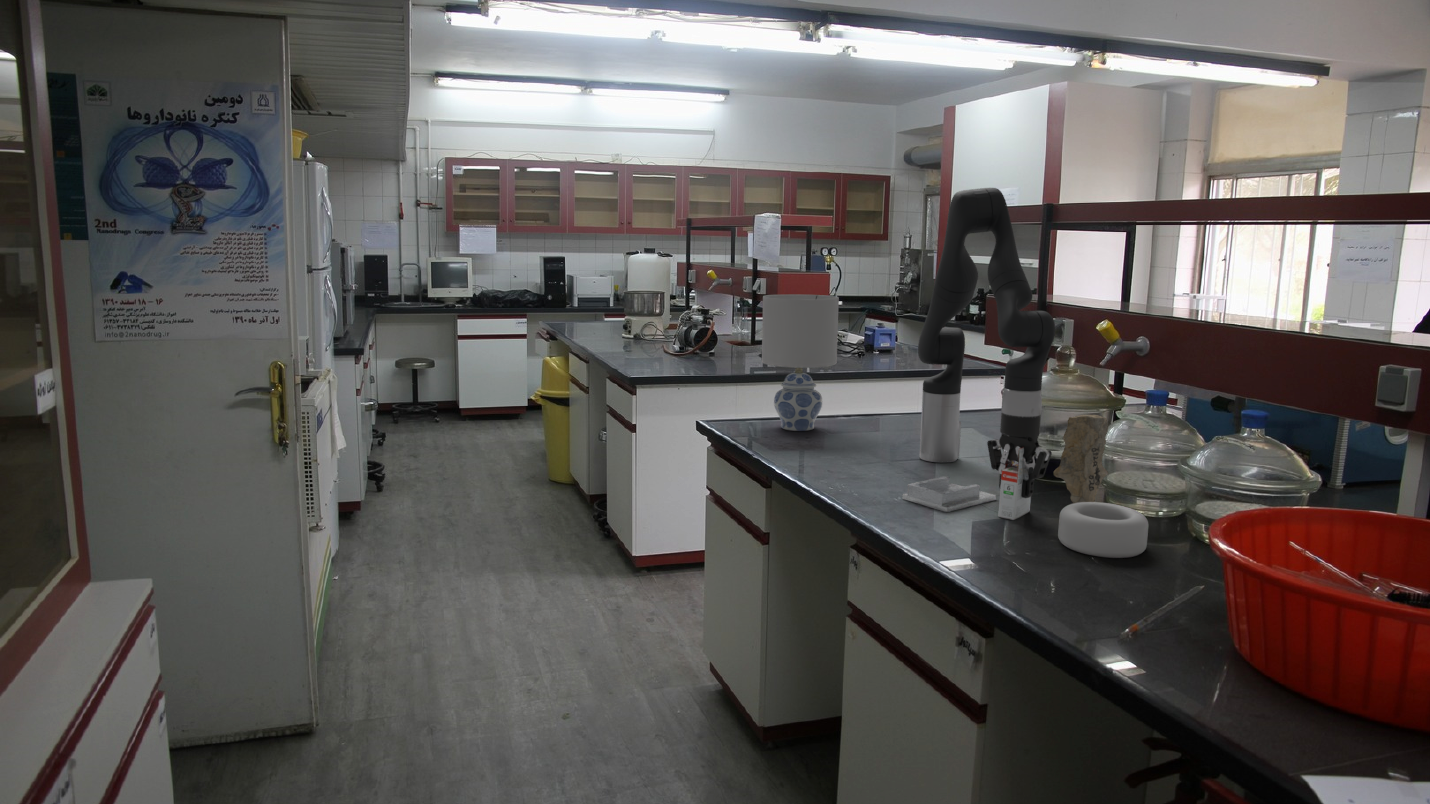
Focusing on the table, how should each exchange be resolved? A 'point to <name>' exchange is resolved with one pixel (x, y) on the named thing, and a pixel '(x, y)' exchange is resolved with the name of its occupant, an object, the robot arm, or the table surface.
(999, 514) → the ink box
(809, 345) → the lamp
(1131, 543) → the thick torus
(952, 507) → the bracket
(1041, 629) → the table surface
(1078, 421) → the stone tool
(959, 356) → the robot arm
